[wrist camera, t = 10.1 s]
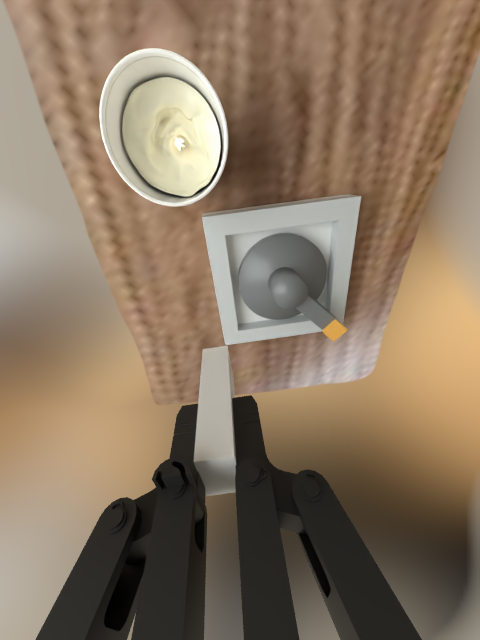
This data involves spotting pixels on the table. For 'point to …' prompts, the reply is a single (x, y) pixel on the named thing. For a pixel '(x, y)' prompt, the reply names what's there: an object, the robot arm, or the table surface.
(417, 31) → the table surface
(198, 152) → the candle holder
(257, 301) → the dial
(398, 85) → the table surface
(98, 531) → the robot arm
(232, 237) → the dial panel
